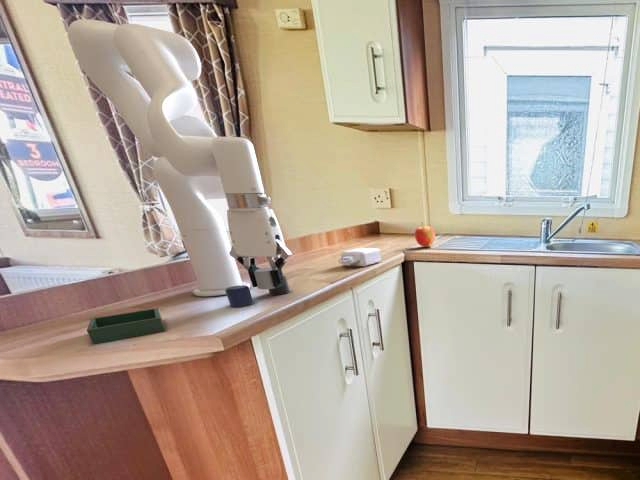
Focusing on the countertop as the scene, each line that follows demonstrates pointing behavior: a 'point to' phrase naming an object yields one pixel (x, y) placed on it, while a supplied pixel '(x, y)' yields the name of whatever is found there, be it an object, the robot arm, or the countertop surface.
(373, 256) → the charger
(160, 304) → the countertop surface
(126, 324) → the tray
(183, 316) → the countertop surface
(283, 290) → the black cap
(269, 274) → the grey cap
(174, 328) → the countertop surface
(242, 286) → the navy cap
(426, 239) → the apple
